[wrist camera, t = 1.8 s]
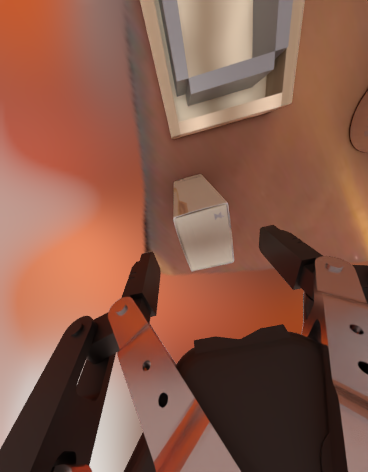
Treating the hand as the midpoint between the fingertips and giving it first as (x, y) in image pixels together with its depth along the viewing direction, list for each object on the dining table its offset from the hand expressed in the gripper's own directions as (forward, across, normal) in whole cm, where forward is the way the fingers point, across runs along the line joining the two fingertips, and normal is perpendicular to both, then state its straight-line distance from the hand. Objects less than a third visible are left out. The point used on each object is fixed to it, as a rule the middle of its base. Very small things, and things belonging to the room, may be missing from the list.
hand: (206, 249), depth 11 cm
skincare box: (+14, 0, 0) cm, 14 cm away
